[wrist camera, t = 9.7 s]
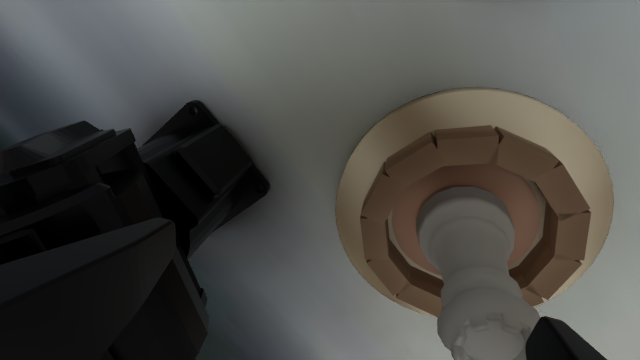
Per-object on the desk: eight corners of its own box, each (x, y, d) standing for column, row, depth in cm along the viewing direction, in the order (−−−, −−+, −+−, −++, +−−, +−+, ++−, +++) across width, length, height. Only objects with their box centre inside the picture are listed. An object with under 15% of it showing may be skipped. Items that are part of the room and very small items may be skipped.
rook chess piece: (502, 172, 17) (570, 287, 10) (515, 252, 18) (582, 402, 11) (406, 191, 18) (405, 304, 11) (425, 264, 20) (435, 404, 13)
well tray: (420, 335, 23) (422, 370, 21) (292, 179, 21) (278, 200, 18) (651, 248, 18) (686, 283, 16) (519, 24, 15) (538, 26, 13)
